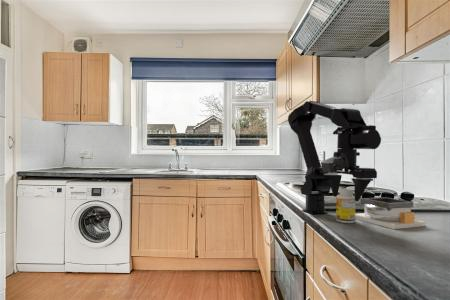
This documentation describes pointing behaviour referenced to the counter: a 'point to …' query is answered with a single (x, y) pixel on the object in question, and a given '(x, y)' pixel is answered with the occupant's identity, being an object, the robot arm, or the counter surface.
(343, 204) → the supplement bottle
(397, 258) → the counter surface
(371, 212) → the hollow square frame
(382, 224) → the mount plate
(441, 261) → the counter surface
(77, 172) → the counter surface
